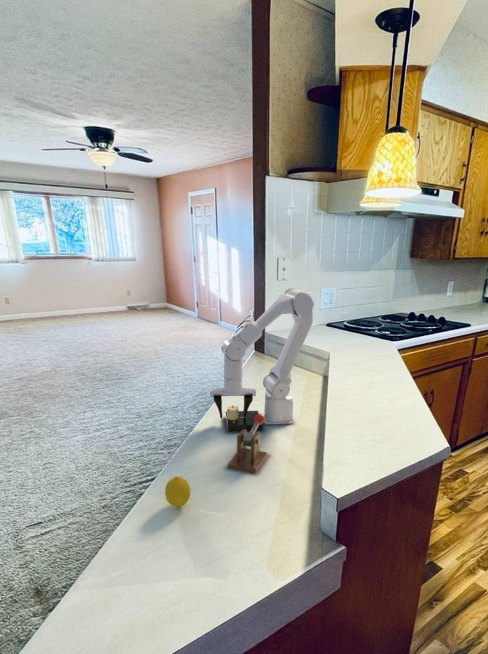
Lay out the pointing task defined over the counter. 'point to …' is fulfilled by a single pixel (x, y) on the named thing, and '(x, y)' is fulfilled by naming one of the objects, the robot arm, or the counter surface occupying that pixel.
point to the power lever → (253, 430)
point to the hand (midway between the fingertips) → (232, 416)
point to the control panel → (242, 422)
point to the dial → (232, 412)
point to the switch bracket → (248, 454)
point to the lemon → (177, 491)
